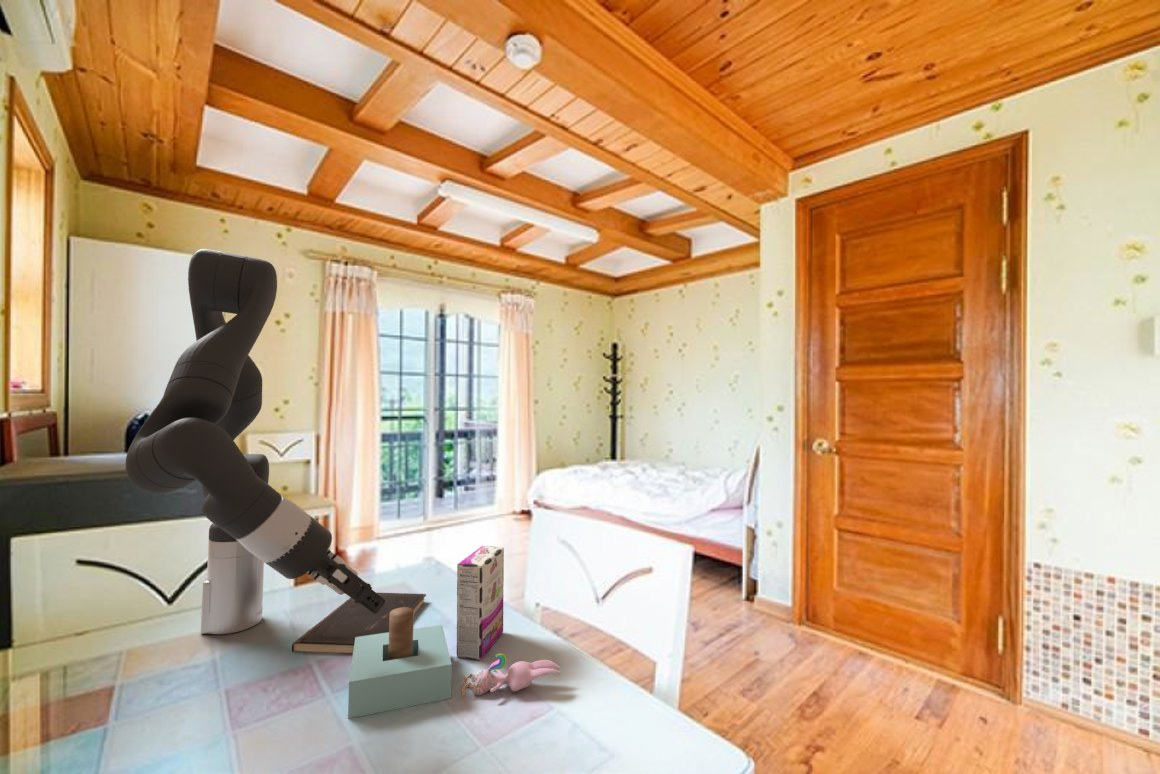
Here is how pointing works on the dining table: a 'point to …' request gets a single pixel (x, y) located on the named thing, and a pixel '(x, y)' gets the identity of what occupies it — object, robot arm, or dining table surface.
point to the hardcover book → (353, 624)
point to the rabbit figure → (509, 675)
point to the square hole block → (399, 673)
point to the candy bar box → (479, 601)
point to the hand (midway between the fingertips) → (367, 598)
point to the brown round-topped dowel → (401, 633)
